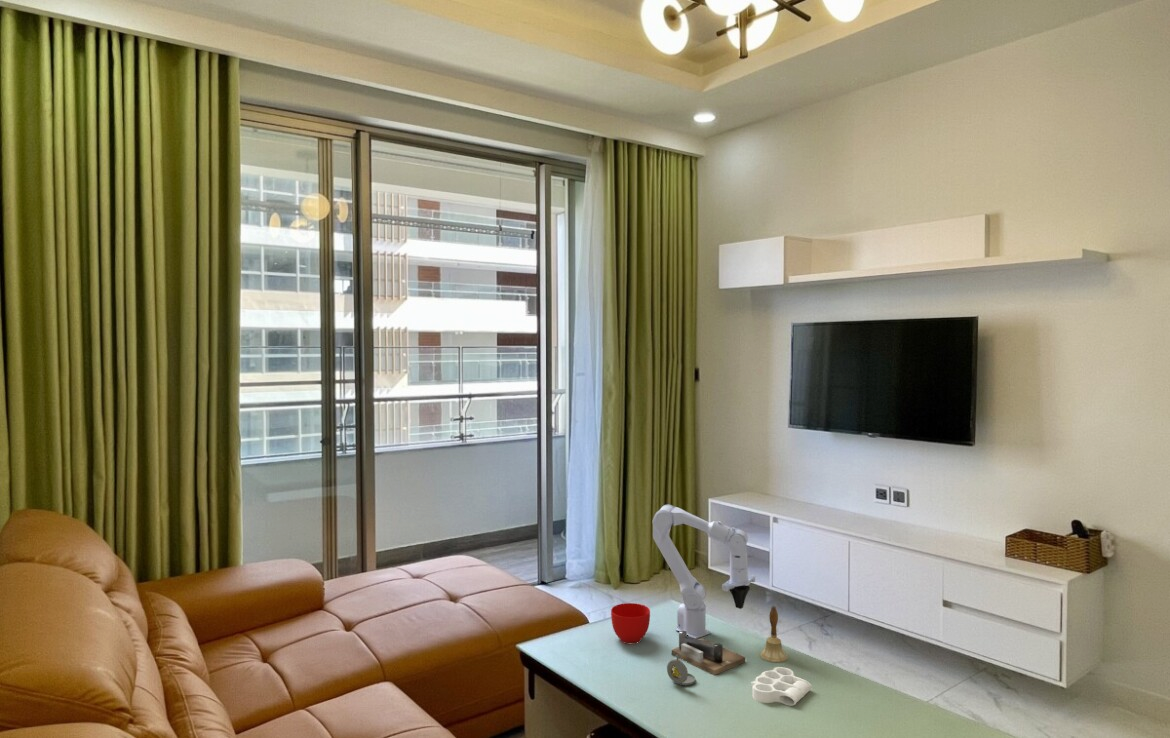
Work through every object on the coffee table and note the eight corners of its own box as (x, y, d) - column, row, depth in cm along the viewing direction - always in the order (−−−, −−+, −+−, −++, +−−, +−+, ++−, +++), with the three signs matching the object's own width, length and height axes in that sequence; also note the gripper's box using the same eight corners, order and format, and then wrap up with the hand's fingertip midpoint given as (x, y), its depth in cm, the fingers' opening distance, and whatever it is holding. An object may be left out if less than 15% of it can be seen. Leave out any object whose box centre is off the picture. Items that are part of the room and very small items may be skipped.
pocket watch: (694, 676, 210) (694, 643, 209) (696, 690, 201) (696, 655, 201) (666, 675, 210) (666, 642, 210) (667, 688, 202) (667, 654, 202)
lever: (677, 648, 224) (677, 632, 224) (682, 645, 226) (682, 629, 226) (719, 663, 214) (719, 646, 214) (724, 660, 216) (724, 643, 216)
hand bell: (790, 662, 218) (790, 611, 218) (763, 662, 218) (763, 611, 218) (783, 650, 227) (783, 601, 226) (757, 650, 227) (757, 601, 226)
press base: (671, 654, 224) (671, 640, 224) (702, 642, 233) (702, 629, 233) (714, 675, 210) (714, 660, 210) (745, 662, 219) (745, 647, 219)
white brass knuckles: (789, 713, 189) (740, 696, 198) (816, 688, 203) (768, 673, 212) (789, 701, 189) (740, 684, 198) (816, 677, 203) (768, 662, 212)
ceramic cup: (662, 633, 241) (662, 604, 241) (638, 651, 227) (638, 620, 226) (628, 625, 248) (628, 596, 247) (603, 642, 234) (603, 612, 233)
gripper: (733, 574, 228) (734, 616, 228) (762, 565, 237) (762, 605, 237) (716, 569, 233) (717, 610, 234) (745, 560, 242) (746, 599, 243)
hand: (739, 607), depth 236 cm, fingers closed
